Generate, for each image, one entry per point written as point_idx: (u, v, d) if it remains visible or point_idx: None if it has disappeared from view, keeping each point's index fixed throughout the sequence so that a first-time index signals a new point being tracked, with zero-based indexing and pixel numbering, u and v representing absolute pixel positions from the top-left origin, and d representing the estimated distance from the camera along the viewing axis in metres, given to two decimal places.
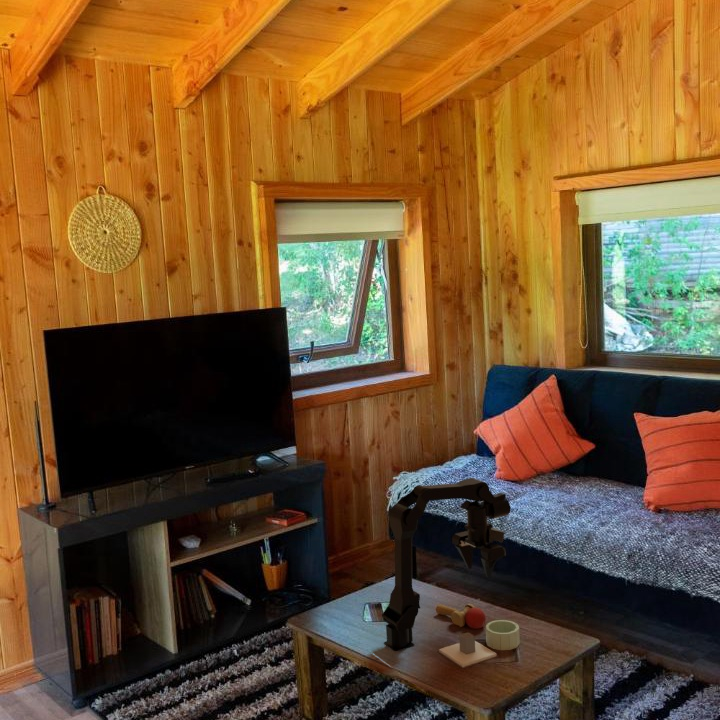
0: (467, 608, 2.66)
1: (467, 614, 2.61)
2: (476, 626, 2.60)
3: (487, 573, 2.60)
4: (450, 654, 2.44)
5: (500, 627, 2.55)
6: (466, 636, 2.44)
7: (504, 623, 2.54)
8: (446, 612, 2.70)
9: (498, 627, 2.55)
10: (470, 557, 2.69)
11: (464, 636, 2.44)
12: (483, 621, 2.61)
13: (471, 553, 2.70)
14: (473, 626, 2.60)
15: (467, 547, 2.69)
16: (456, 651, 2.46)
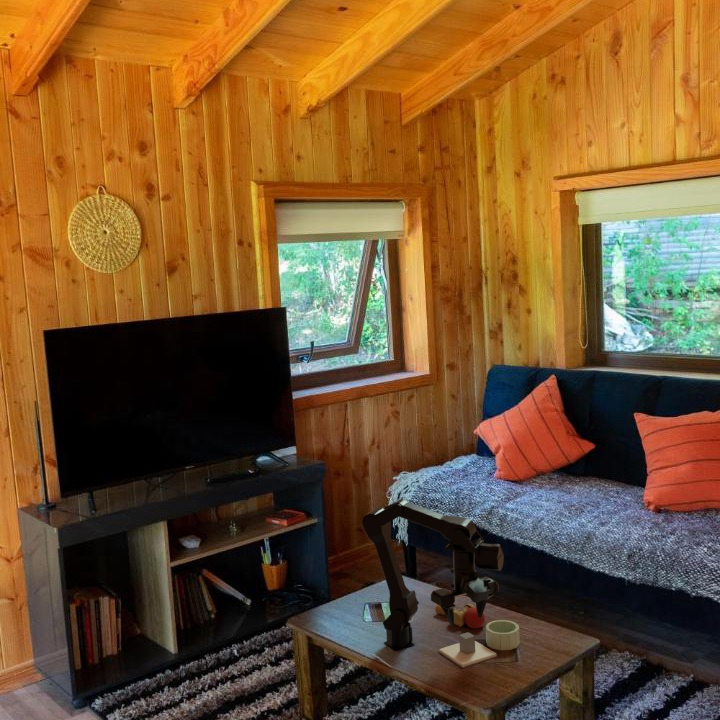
0: (466, 608, 2.66)
1: (466, 614, 2.62)
2: (475, 626, 2.60)
3: (448, 619, 2.42)
4: (450, 654, 2.44)
5: (500, 627, 2.55)
6: (466, 636, 2.44)
7: (504, 623, 2.54)
8: None
9: (498, 627, 2.55)
10: (480, 606, 2.46)
11: (464, 636, 2.44)
12: (482, 621, 2.61)
13: (482, 602, 2.45)
14: (472, 626, 2.60)
15: None
16: (456, 651, 2.46)
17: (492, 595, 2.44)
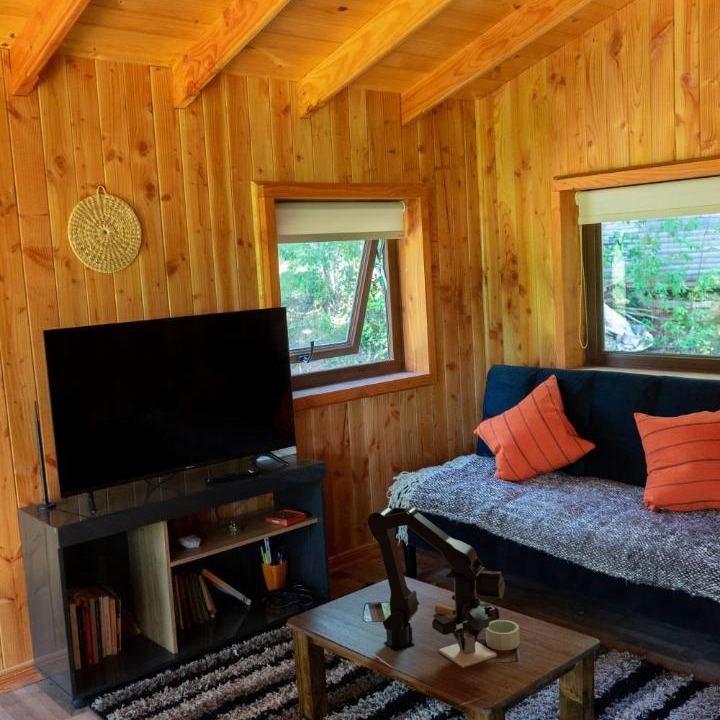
0: None
1: None
2: None
3: (458, 643, 2.45)
4: (450, 654, 2.44)
5: (500, 627, 2.55)
6: (466, 636, 2.44)
7: (504, 623, 2.54)
8: (445, 612, 2.71)
9: (498, 627, 2.55)
10: None
11: (464, 636, 2.44)
12: None
13: (475, 632, 2.45)
14: None
15: None
16: (456, 651, 2.46)
17: None
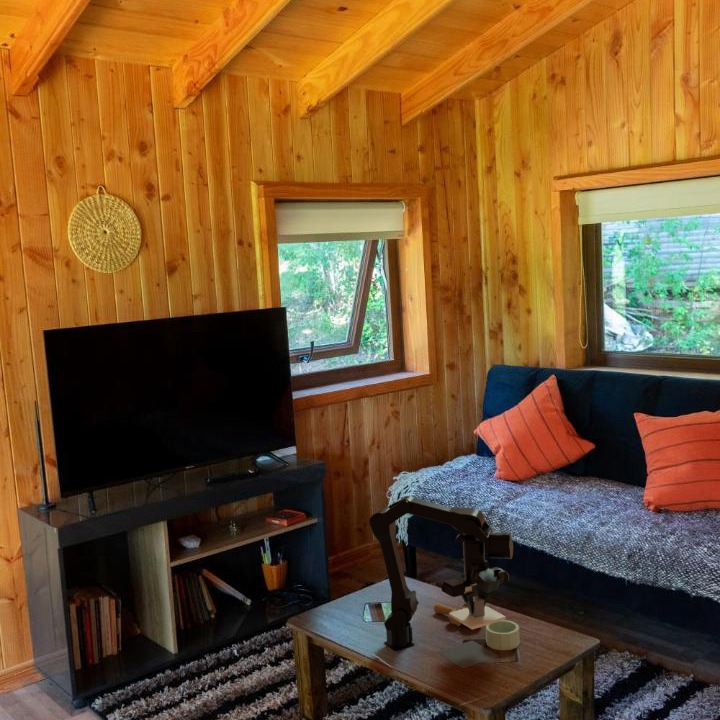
0: (465, 607, 2.67)
1: None
2: None
3: (467, 606, 2.45)
4: (459, 617, 2.44)
5: (500, 627, 2.55)
6: (475, 599, 2.44)
7: (504, 623, 2.54)
8: (444, 611, 2.71)
9: (498, 627, 2.55)
10: (482, 598, 2.46)
11: (473, 599, 2.44)
12: None
13: (484, 595, 2.45)
14: None
15: None
16: (466, 615, 2.46)
17: None
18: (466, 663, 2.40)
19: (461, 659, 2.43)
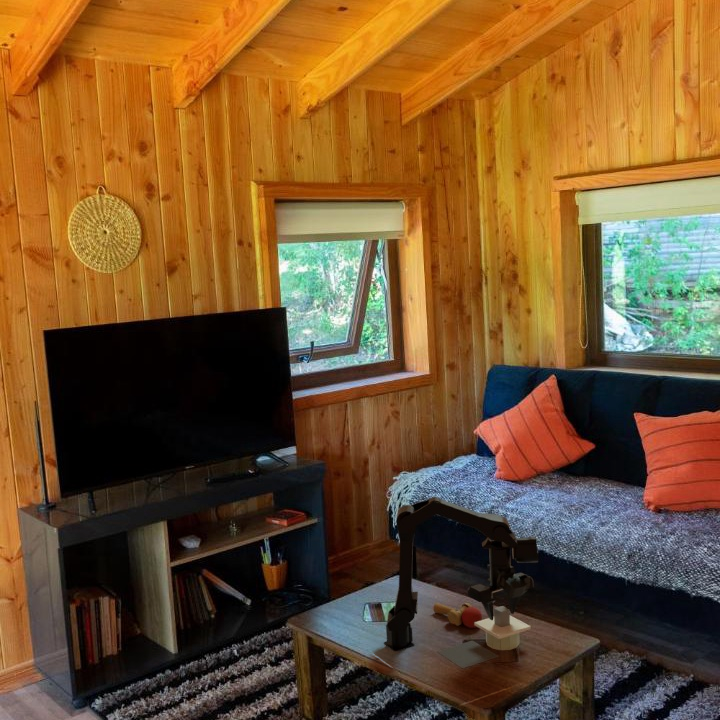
0: (464, 607, 2.67)
1: (463, 613, 2.62)
2: (472, 625, 2.61)
3: (487, 613, 2.49)
4: (485, 627, 2.49)
5: None
6: (500, 609, 2.49)
7: None
8: (443, 611, 2.71)
9: None
10: (512, 602, 2.51)
11: (499, 609, 2.49)
12: (479, 620, 2.61)
13: (515, 599, 2.51)
14: (469, 625, 2.61)
15: None
16: (491, 624, 2.51)
17: (524, 591, 2.50)
18: (466, 663, 2.40)
19: (461, 659, 2.43)
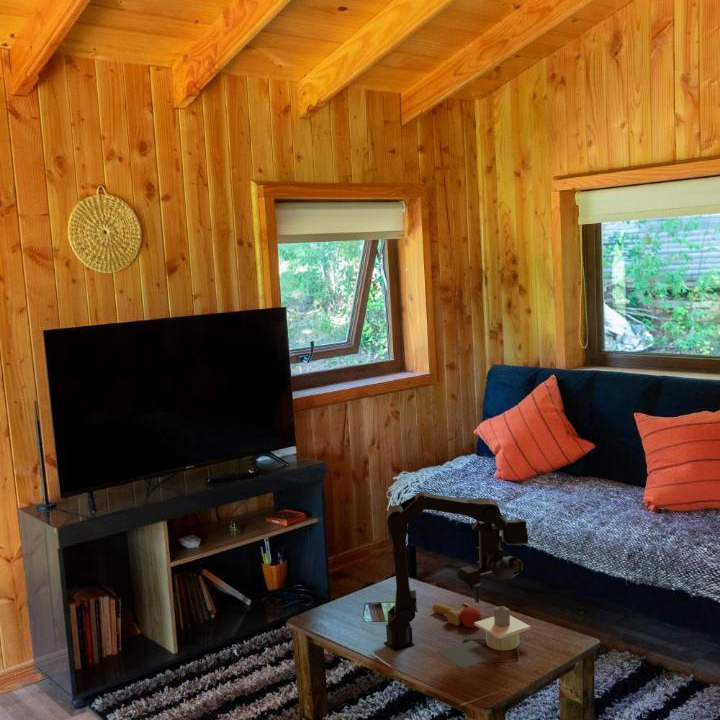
0: (463, 607, 2.67)
1: (462, 613, 2.62)
2: (471, 625, 2.61)
3: (473, 596, 2.49)
4: (485, 627, 2.49)
5: None
6: (500, 609, 2.49)
7: None
8: (443, 611, 2.71)
9: None
10: (504, 584, 2.53)
11: (499, 609, 2.49)
12: (478, 620, 2.61)
13: (507, 580, 2.52)
14: (468, 625, 2.61)
15: None
16: (491, 624, 2.51)
17: (516, 573, 2.51)
18: (466, 663, 2.40)
19: (461, 659, 2.43)
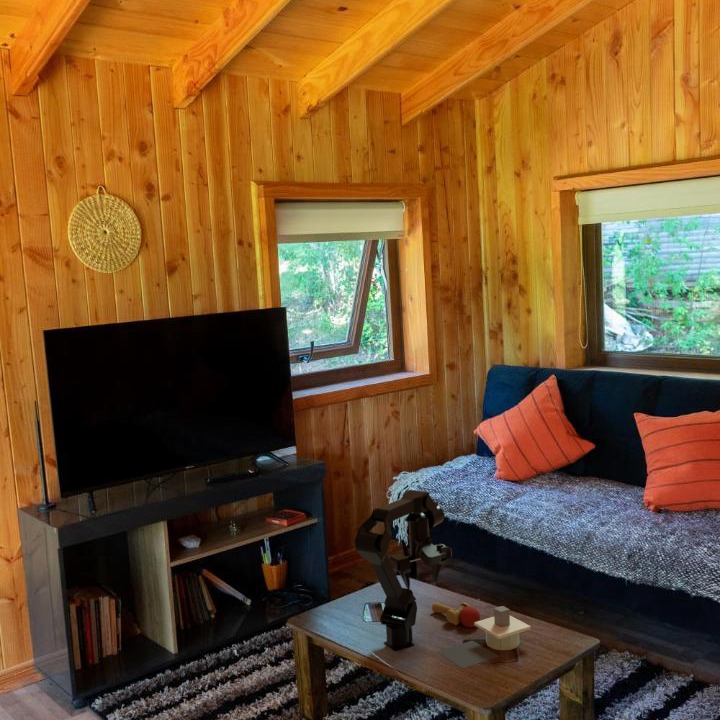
0: (462, 607, 2.67)
1: (461, 613, 2.63)
2: (470, 625, 2.61)
3: (404, 582, 2.61)
4: (485, 627, 2.49)
5: None
6: (500, 609, 2.49)
7: None
8: (442, 610, 2.72)
9: None
10: (435, 570, 2.65)
11: (499, 609, 2.49)
12: (477, 620, 2.62)
13: (437, 567, 2.64)
14: (467, 625, 2.61)
15: None
16: (491, 624, 2.51)
17: (446, 560, 2.63)
18: (466, 663, 2.40)
19: (461, 659, 2.43)
